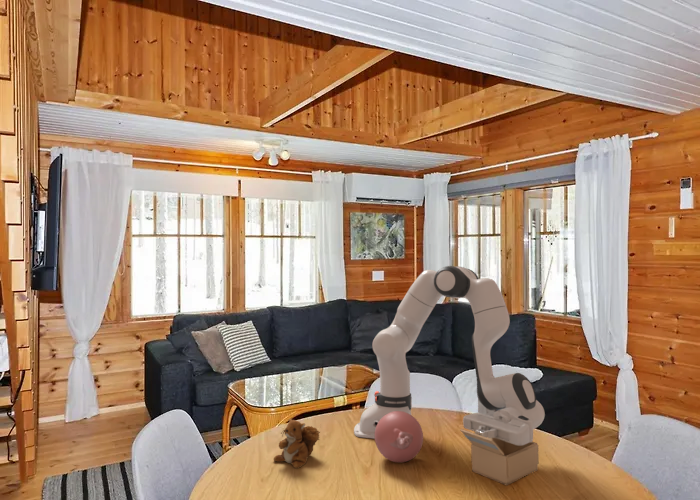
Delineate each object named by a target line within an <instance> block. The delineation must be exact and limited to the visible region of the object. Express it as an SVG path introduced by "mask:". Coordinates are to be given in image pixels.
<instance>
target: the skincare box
mask: <svg viewBox="0 0 700 500" xmlns="http://www.w3.org/2000/svg"><path fill="white" fill-rule="evenodd" d="M496 411H497V409H496V410H489V409H487V408H486V407H484V406H483V405H482V404H481V403H480V401H479V399H478V398H477V413H483V414H486V415H490V416H493V415H494V413H495V412H496Z"/></svg>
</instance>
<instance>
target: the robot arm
mask: <svg viewBox="0 0 700 500" xmlns="http://www.w3.org/2000/svg"><path fill="white" fill-rule="evenodd" d="M443 296H444V297H446V298H453V299H466V301H468V303H469V304H470V307H471V312H472V315H473V317H474V331H473V333H472V335H471V346H472V347H471V348H472V355H473V362H474V369H475V376H476V396H477V400H478V399H479V401H480V403H481V404H482V405H483V406H484V407H486V408H487V409H489V410H496V412H495V413H494V415H493V416H490V415H486V414H483V413H478V412H475V413H469V414H465V415H464V416H463V420H462V425H463V428H464V429H465V430H469V431H471V432H474V433H475V434H478V435H480V436H483V437H486V438H496V439H499V440H502V441H505V442H508V443H511V444H514V445H518V446H522V445H525V444H527V443H530V442H534V430H535V429H536V428H538V427H539V426H540V425H542V423H543V421H544V419H545V416H546V414H545V409H544V407H543V405H542V404H541V403H540V402H539V401H538V400H537V396H536V391H535V388H534V386H533V384H532V383H533V382H531V380H530V379H529V378H528V377H527V376H526V375H524V374H523V373H520V372H514V373H509V374H505V375H502V376H497V377H495V376H494V371H493V367H492V358H491V350H492V347H493V345H494V344H495V343H496V342H497V341H498V340H499V339H501V337H503V335H504V334H506V332H507V330H508V329H509V328H510V327H509V326H510V324H511V323H510V321H511V320H510V319H511V318H510V314H509V310H508V307H507V304H506V301H505V299H504V296H503V294H502V291H501V289H500V288H499V286H498V283H497V282H496V281H495V280H493V279H492V278H489V277H488V278H487V277H482V278H481V277H480V278H479V276H478V275H477V274H476V272H475V271H474V270H472V269H469V268H466V267H463V266H457V265H456V266H453V265H447V266H443V267H441V268H439V270H437V271H436V270H433V269H425V270H423V271H422V272H421V273H420V274H419V275H418V276H417V278H416V279H415V280H414V282H413V283H412V284H411V285H410V287H409V288H408V290H407V292H406V294H405V295H404V297H403V299H402V300H401V302H400V303H399V305H398V307H397V309H396V313H395V316H394V319H393V320H392V322H391V324H390V325H389V326H388V327H387V328H384V329H382V330H380V331H379V332H378V333H377V334H376V335H375V337H374V339H373V340H372V351H373V353H374V355H376V360H377V364H378V368H379V369H378V370H379V379H380V380H379V384H380V385H379V387H380V390H379V391H380V392H379V391H378V390H376V391H375V392H374V394H373V395H374V403H373V404H371V406H369V407H368V408H366V409H365V410H364V411H363V412H362V414H361V415H360V419H359V422H358V423H357V424H355V426H354V428H353V434H354V436H355V437H358V438H364V439H366V438H367V439H373V440H375V429H376V426H377V424H378V422H379V421H380V419H381V418H382V417H383V416H385V415H386V414H388V413H390V412H394V411H402V412H406V413H408V414H410V415H412V406H413V404H412V403H413V401H412V399H413V398H412V393H411V372H410V370H409V369H408V364H407V359H406V354H407V353H408V352H409V351H410V350H411V349H412V348H413V346H414V345H415V342H416V340H417V338H418V337H419V335H420V332H421V331H422V328H423V326H424V324H425V323H426V321H427V320H428V318H429V316H430V315H431V313H432V311H433V310H434V308H435V306H436V305H437V303H438V302H439V300H440V299H441V297H443Z"/></svg>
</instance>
